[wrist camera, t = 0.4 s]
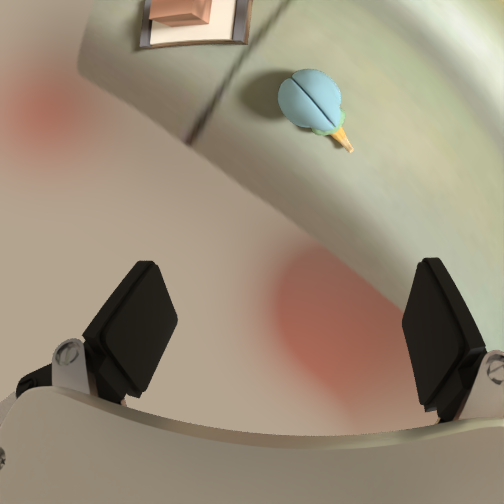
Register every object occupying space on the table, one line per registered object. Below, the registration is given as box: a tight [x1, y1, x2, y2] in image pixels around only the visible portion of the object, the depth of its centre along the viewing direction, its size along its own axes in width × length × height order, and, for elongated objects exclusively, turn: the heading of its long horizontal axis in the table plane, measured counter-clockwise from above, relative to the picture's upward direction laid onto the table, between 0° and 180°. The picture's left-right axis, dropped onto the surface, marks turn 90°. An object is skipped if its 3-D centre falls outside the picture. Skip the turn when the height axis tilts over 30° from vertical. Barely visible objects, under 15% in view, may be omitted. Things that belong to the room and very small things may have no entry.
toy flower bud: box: [278, 69, 353, 152], centre depth 28 cm, size 7×9×12 cm
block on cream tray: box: [149, 0, 238, 45], centre depth 21 cm, size 8×11×7 cm
